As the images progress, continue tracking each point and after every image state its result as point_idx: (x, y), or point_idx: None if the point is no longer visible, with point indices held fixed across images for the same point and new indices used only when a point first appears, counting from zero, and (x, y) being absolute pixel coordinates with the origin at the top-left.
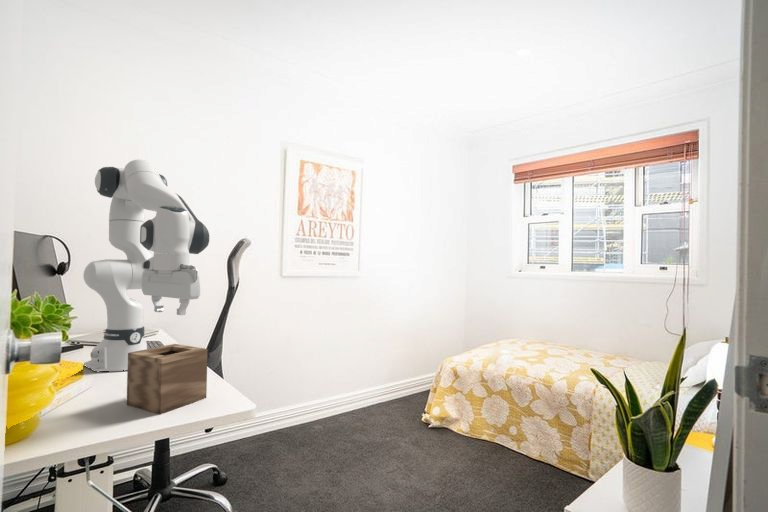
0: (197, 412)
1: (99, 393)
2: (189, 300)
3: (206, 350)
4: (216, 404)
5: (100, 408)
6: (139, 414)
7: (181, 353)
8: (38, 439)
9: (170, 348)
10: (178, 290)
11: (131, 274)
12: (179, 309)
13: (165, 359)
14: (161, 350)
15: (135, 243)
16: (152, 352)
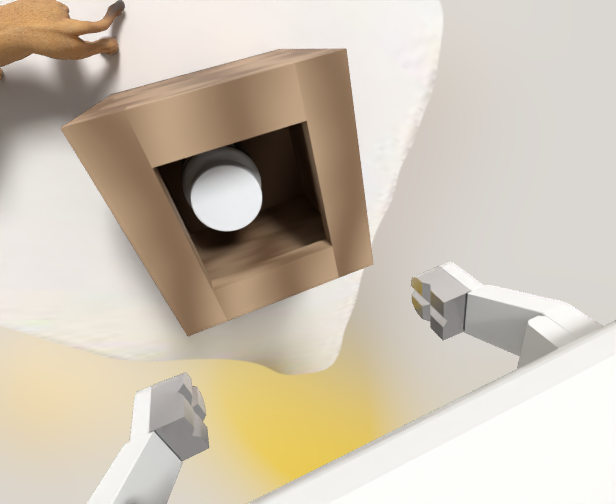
0: (364, 128)
1: (4, 282)
2: (585, 315)
3: (344, 56)
4: (352, 58)
5: None
6: None
7: (343, 188)
8: (279, 357)
9: (158, 177)
10: None
11: None
12: (468, 325)
13: (370, 251)
14: (180, 222)
15: None
16: (198, 258)
